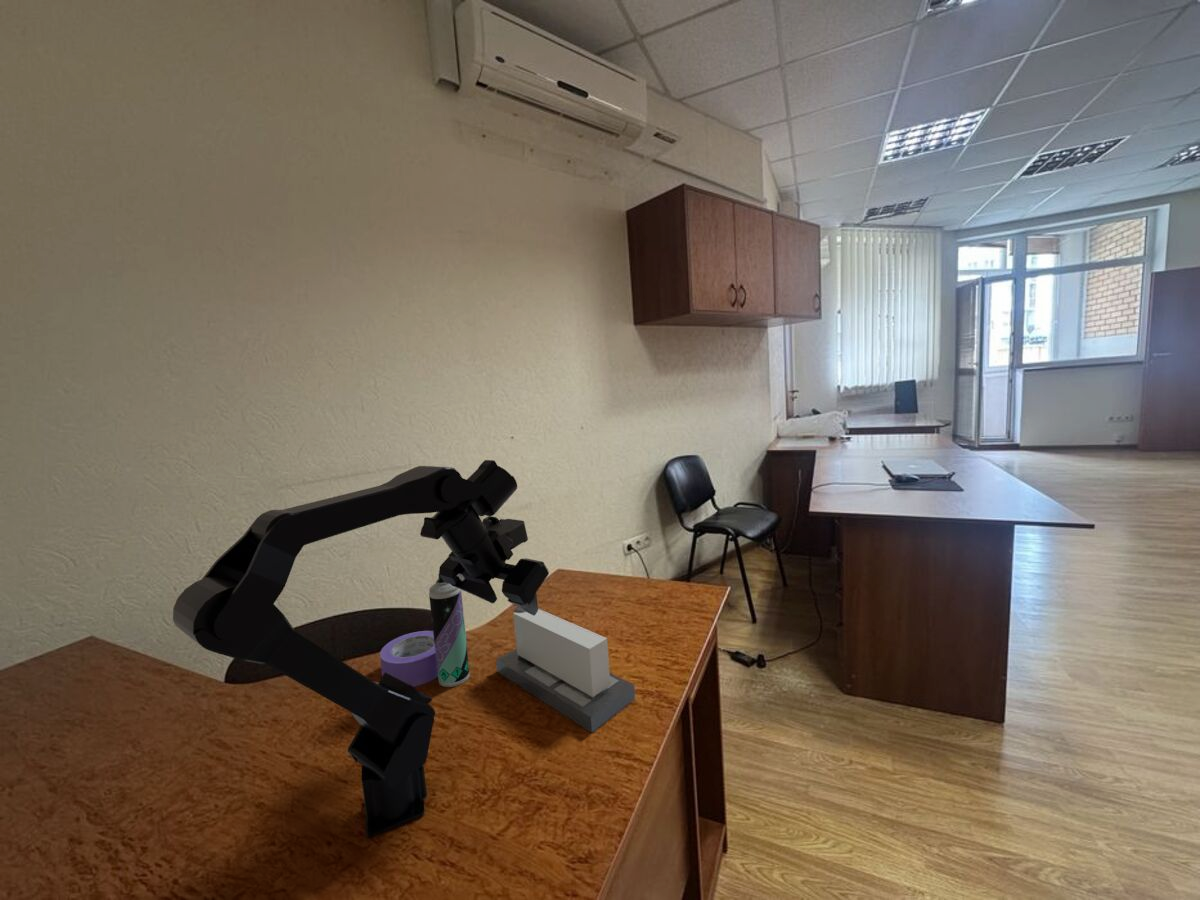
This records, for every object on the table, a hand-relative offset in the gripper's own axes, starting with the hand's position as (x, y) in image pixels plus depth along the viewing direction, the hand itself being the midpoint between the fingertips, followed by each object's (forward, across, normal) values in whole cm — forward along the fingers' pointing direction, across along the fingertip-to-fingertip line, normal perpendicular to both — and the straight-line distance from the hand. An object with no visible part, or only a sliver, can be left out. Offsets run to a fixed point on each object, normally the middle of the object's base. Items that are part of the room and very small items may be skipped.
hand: (514, 606), depth 75 cm
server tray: (+18, -2, +2) cm, 18 cm away
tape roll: (+14, +26, +11) cm, 31 cm away
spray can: (+14, +16, +9) cm, 24 cm away
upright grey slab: (+16, -2, 0) cm, 16 cm away
